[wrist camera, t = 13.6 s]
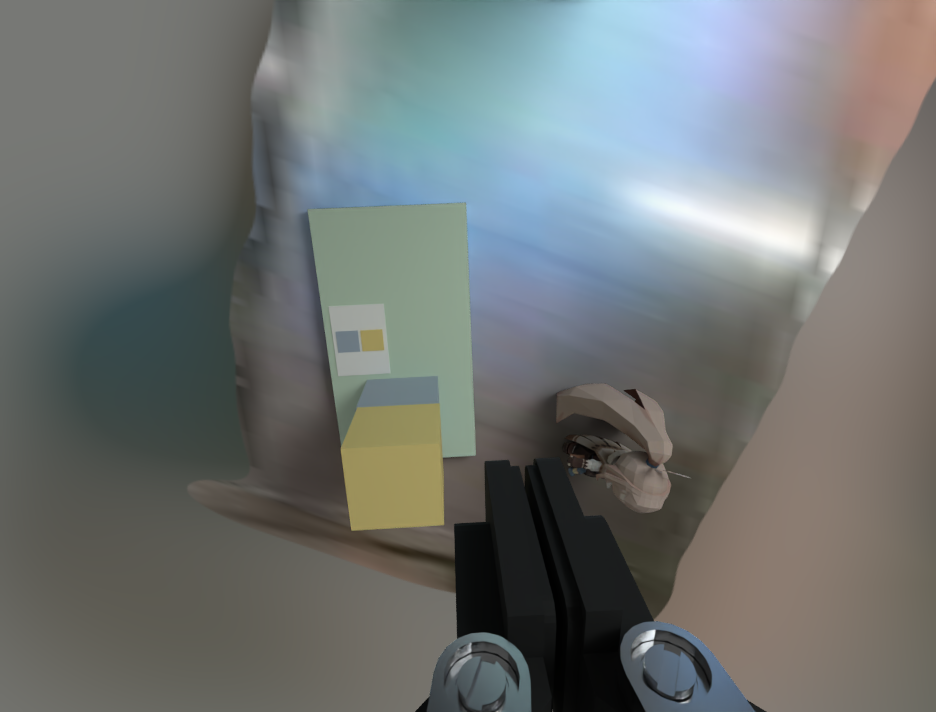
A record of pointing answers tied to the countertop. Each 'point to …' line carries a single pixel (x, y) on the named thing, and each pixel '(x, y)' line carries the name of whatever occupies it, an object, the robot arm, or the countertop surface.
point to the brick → (394, 467)
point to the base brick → (400, 392)
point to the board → (398, 306)
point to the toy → (628, 471)
